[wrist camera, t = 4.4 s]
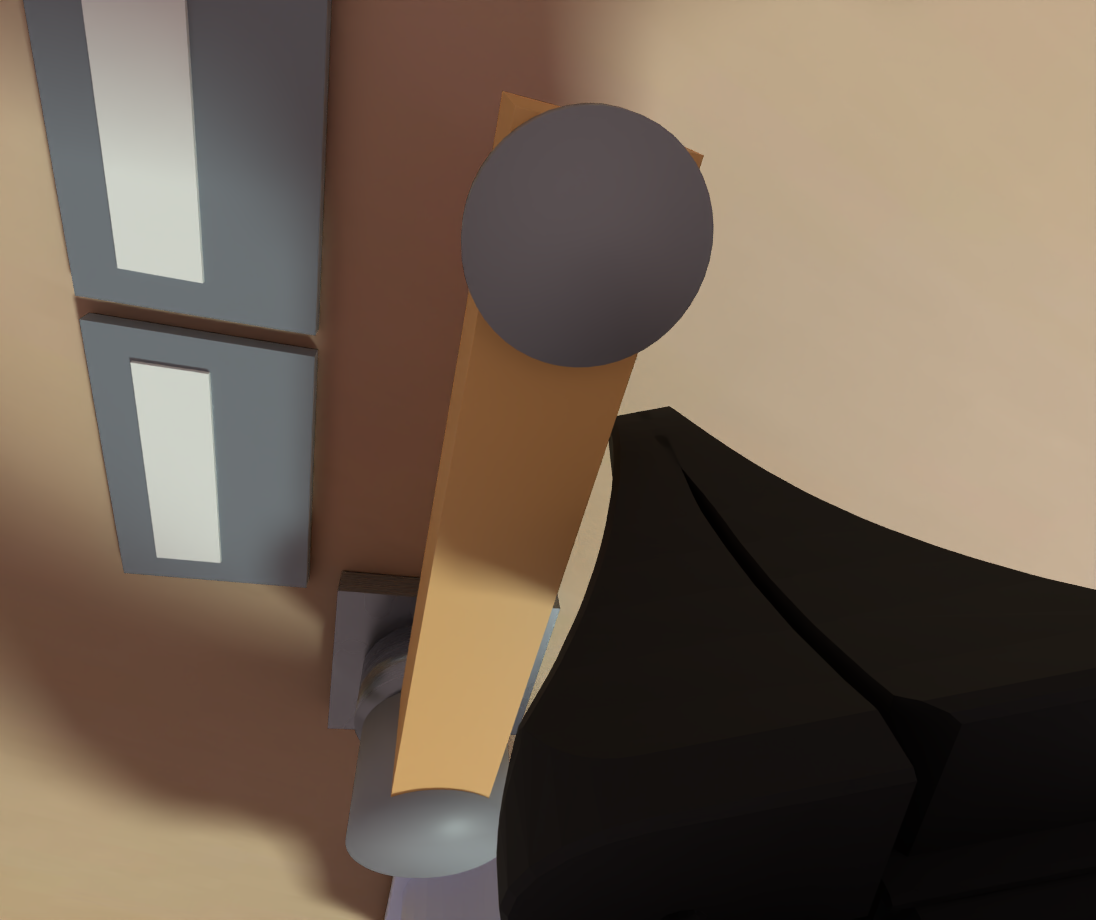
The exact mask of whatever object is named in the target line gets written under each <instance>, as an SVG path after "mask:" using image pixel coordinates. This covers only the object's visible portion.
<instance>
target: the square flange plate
mask: <svg viewBox="0 0 1096 920" xmlns="http://www.w3.org/2000/svg"><path fill="white" fill-rule="evenodd" d="M419 583H420V578H413V577H401V576H390V575H379V574H367V573H356V572H345V571H342V575H341V579H340V583H339V588H338V595H337V608H336V622H335V636H334V649H333V663H332V677H331V690H330V704H329V717H328V728H331V729H355V732H356V734H357V737H358V739H359V740H361V733H362V727H363V723H364V721H365V719H366V717H367V715H368V714H369V713H370V711H371V710H372V709H373V708H374V707H375V706H377V705H378V704H379V703H381V702H382V701H384V700H385V699H387V698H389V697H391V696H393V695H395V694H398V693H401V690H402V684H403V678H404V672H405V666H406V660H407V654H408V648H409V642H410V636H411V630H412V625H413V619H414V613H415V607H416V601H417V595H418V589H419ZM559 610H560V606H559V600H558V594H557V596H556V599H555V602H554V605H553V608H552V611H551V614H550V617H549V620H548V623H547V626H546V629H545V632H544V635H543V638H542V641H541V644H540V647H539V650H538V653H537V656H536V659H535V662H534V665H533V668H532V671H531V674H530V677H529V680H528V683H527V686H526V689H525V692H524V695H523V698H522V701H521V704H520V707H519V710H518V713H517V716H516V719H515V722H514V725H513V728H512V731H511V734H510V735H516V733H517V728H518V726H519V724H520V723H521V721H522V718H523V715H524V712H525V709H526V706H527V704H528V701H529V698H530V695H531V692H532V689H533V686H534V683H535V680H536V677H537V674H538V672H539V669H540V666H541V663H542V660H543V657H544V654H545V651H546V648H547V645H548V642H549V640H550V637H551V634H552V631H553V628H554V625H555V622H556V619H557V616H558V613H559Z"/></svg>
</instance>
